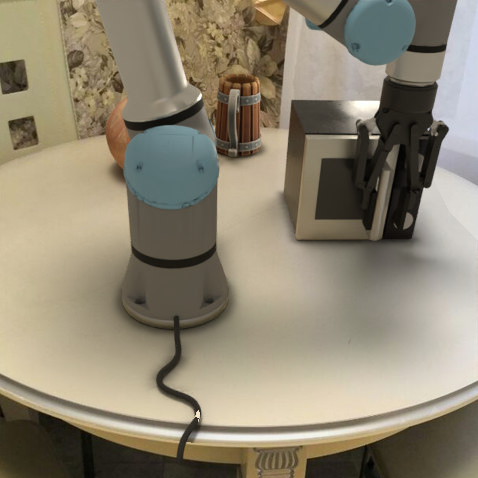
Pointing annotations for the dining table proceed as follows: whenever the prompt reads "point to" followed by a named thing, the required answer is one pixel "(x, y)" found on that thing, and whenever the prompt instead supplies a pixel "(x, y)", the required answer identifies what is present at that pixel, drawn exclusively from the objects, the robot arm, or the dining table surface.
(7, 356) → the dining table surface
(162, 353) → the dining table surface
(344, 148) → the microwave door
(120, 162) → the jug
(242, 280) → the dining table surface
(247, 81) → the mug
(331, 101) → the microwave
